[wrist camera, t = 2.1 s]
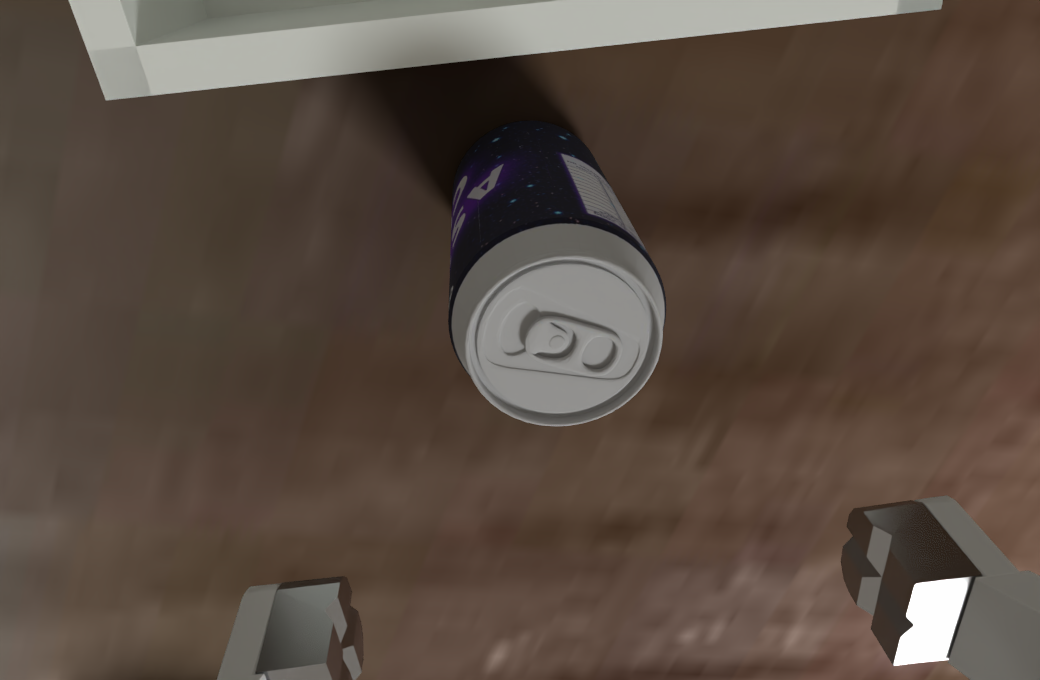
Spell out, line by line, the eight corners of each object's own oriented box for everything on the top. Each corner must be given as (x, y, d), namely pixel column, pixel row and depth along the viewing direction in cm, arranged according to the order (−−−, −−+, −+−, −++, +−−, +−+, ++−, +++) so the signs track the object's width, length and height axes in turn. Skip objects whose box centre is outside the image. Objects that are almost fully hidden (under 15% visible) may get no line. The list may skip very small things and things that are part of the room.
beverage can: (479, 93, 26) (491, 206, 16) (621, 143, 27) (719, 278, 17) (434, 233, 29) (419, 410, 18) (567, 273, 30) (622, 459, 20)
